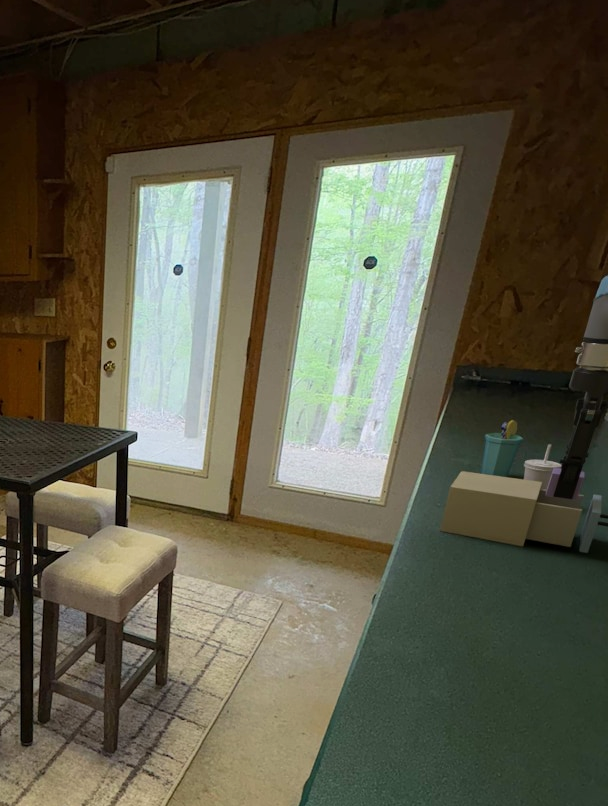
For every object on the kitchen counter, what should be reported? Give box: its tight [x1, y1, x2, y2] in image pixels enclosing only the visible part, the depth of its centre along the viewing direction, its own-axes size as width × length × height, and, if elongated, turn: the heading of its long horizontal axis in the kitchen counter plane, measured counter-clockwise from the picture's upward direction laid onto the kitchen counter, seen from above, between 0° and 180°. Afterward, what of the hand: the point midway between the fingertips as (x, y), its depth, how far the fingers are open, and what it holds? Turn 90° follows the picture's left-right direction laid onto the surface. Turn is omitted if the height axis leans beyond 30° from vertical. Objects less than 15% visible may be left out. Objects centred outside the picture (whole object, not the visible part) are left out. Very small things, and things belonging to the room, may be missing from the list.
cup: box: [480, 419, 524, 477], centre depth 157 cm, size 14×8×15 cm, turn 136°
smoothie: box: [523, 443, 562, 490], centre depth 138 cm, size 6×6×14 cm
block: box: [546, 468, 585, 501], centre depth 117 cm, size 4×4×4 cm
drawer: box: [525, 489, 608, 554], centre depth 119 cm, size 17×12×8 cm
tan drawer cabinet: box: [439, 470, 542, 547], centre depth 127 cm, size 14×14×10 cm
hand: (563, 493), depth 118 cm, fingers closed on block, 4 cm apart
